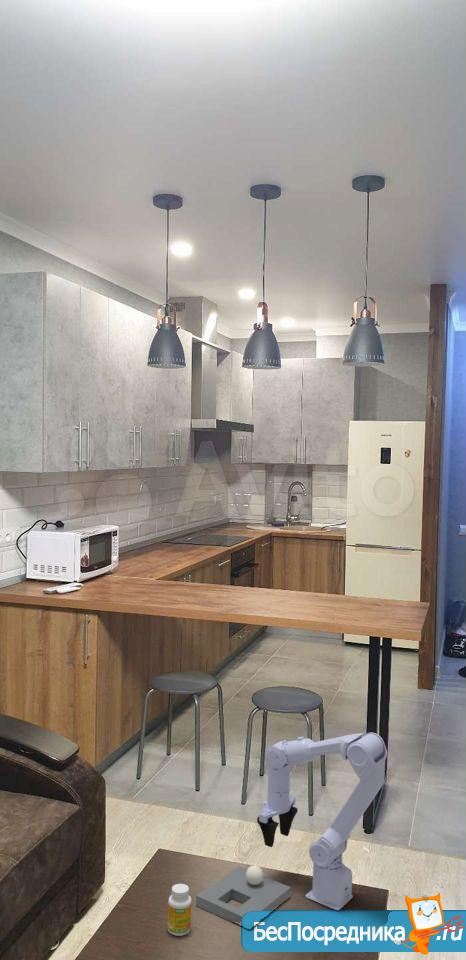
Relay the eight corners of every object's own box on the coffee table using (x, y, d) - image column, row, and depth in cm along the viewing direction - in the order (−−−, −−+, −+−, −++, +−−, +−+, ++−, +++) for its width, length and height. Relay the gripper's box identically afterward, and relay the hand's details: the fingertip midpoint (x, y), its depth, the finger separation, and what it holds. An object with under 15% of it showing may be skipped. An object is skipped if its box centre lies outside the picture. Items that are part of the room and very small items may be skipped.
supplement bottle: (172, 938, 176) (174, 896, 176) (163, 926, 181) (165, 884, 181) (194, 933, 179) (195, 891, 179) (184, 920, 184) (186, 879, 183)
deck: (290, 897, 195) (290, 887, 195) (249, 930, 180) (249, 920, 180) (238, 875, 204) (238, 866, 204) (195, 905, 190) (196, 895, 190)
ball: (266, 883, 197) (267, 865, 196) (256, 890, 193) (257, 873, 193) (252, 877, 199) (252, 860, 199) (242, 884, 196) (242, 867, 195)
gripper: (280, 776, 212) (278, 825, 212) (250, 793, 200) (248, 845, 200) (302, 783, 208) (300, 833, 208) (273, 801, 196) (271, 854, 196)
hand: (276, 840), depth 204 cm, fingers open, 7 cm apart
